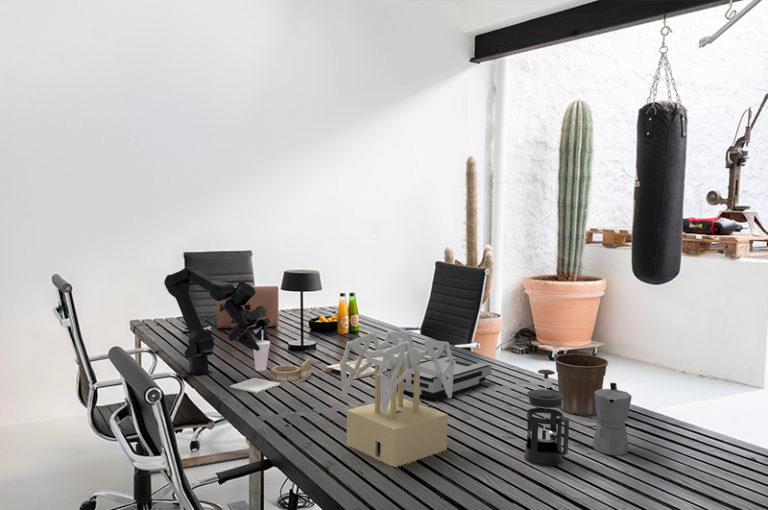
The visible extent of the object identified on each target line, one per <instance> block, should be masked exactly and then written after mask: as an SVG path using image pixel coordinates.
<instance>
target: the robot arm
mask: <svg viewBox="0 0 768 510" xmlns="http://www.w3.org/2000/svg"><path fill="white" fill-rule="evenodd" d="M191 282H192V283H194V284H196V285H198V286H199V287H201V288H203V289H204V290H206V291H207V292H208V293H209V296H210V297H211V298H212V299H213V300H215V301H216V302H222V301H224V303H220V305H219V312H220V313H222V312H226V314H227V315H228V316H229V317H230V319H231V321H230V324H231V325H234V324H235V327H234V328H232V329H231V331H229V333H228V334H227V335H228V336H227V337H228V340H229V341H230V342H231V343H233V342H236V343H240V344H242V345H244V346H246V347H248V348H251V349H252V350H253V349H254V350H256V351H259V350H260V348H259V346H258V345H257V343H256V342H255V341H256V340H255V339H257V341H258V340H262V330H263V340H266V341H270V339H269V336H268V332H267V329H268V327H269V326H270V324H272V322H271V320H270V319H269V318H268V317H266V316H267V315H266V313H267V311H268V310H267V308H266V307H265V306H263V305H259V306H257V307H256V309H253V310H250V309H245V307H244V306H246V305H247V304H248V303H249V302H250V301H251V300H252V298H253V297H255V295H256V289H255V288H254V286H252V285H251V284H248V283H246V281H244V280H243V281H242V280H241V281H239V282H238V284H237V286H236V287H235V286H234V285H233V284H232V283H230V282H226V281H221V280H217V279H215V278H213V277H211V276H210V275H207V274H206V273H204V272H203V271H201V270H199V269H198V268H197V267H195V266H192V267H191V266H189V267H184V268H183V269H181V270H179V271H177V272H174V273H171V274H167V275H166V277H165V279H164V287H165V289H166V290H167V292H168V293H169V294H170V295H171V296H172V297H174V298H175V300H176V302H177V305H178V307H179V309H180V312H181V315H182V317H183V320H184V323H185V325H186V328H187V330H188V332H189V336H188V341H187V342H188V347H187V349H185V351H183V352H184V356H185V358H187V359H189V370H188V371H186V374H189V375H195V376H201V375H205V374H208V373H212V370H210V369H209V359H208V358H209V357H208V356H212V355H213V350H214V347H215V341H214V340H215V338H214V336H213V335H212V331H211V330H210V329H205V328H204V327H203V325H202V323H201V320H200V318H199V315H198V313H197V311H196V308H195V306H194V302H193V301H192V298H191V296H190V289H191V284H190V283H191ZM252 332H253V333H254V335H253V336H252V334H253V333H252ZM254 337H255V339H254Z"/></svg>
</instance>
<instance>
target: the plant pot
mask: <svg viewBox="0 0 768 510" xmlns="http://www.w3.org/2000/svg"><path fill="white" fill-rule="evenodd" d="M553 360H554V362H555V370H556V373H557V383H558V387H557V389H558V392H559V393H561V394H563V395H564V398H563V399H562V405H561V406H559V407H558V408H559V409H560V410H561V411H563V412H564V413H566V414H570V415H574V414H576V415H578V416H594V415H597V413H596V404H595V395H594V392H595V391H597V390H599V389H603V388H604V387H603V385H604V378H605V376H606V372H607V366H608V365H609V360H607V359H606V358H604V357H601V356H597V355H591V354H586V353H585V354H583V353H563V354H562V353H561V354H558V355H556V356H554V358H553Z"/></svg>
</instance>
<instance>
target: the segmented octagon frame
mask: <svg viewBox="0 0 768 510" xmlns="http://www.w3.org/2000/svg"><path fill="white" fill-rule="evenodd" d="M310 376H312V358H311V357H310V358H307V359H305V361H304V362H302V364H301V366H297V365H294V364H290V365H289V364H283V365H277V366H276V365H275V366H273V367H271V368H270V379H272V378H273V380H274V379H275V380H274V381H277V380H281V381H280V382H291V381H296V379H297V380H300V382H301V381H305V380H307V379H308V378H309V377H310ZM305 382H306V381H305Z"/></svg>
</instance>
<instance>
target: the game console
mask: <svg viewBox="0 0 768 510" xmlns="http://www.w3.org/2000/svg"><path fill="white" fill-rule="evenodd" d="M452 358H453V360H454V361H456V364H455V365H454V375H453V387H452V396H456V395H458V394H462V393H465V392H468V391H471V390H474V389H477V388H480V387H482V383H483V382H485V381H486V377H490V376H491V375H492V365H489V364H486V363H481V362H478V363H474V364H470V363H466V362H461V361H458V360H457V359H458V358H457V357H455V356H452ZM438 362H439V365H440V368H441V371H442V372H443V371H444V370H445V368H446V367H447V365H448V364H449V360H448V355H447V354H445V355H443V356H439V357H438ZM420 366H421V367H424V368H427V369H430V370H433V371H436V372H437V370H436V367H435V365H434V362H433V361H432V360H423V361H422V362H420ZM406 368H407V367H406ZM386 376H387V377H388V378H389V379H391V369H388V368H387V372H386ZM448 377H449V373H448V374H447V375H446V378H447V381H448ZM397 378H398V374H397ZM409 383H410V382H409ZM397 391H398V384H397ZM403 393H413V394H414V372H413V373H412V377H411V384H410V385H408V384H407V382H406V380H405V379H404V381H403ZM419 396H421V398H424V399H426V400H429V401H430V400H431V401H433V402H437V401H441V400H444V399H446V398H448V396H447V393H446V391H445V388H444V386H443V383H442V381H441V378H439V377H435V376H432V375H429V374H426V373H423V372H420V387H419ZM449 397H450V395H449Z"/></svg>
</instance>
